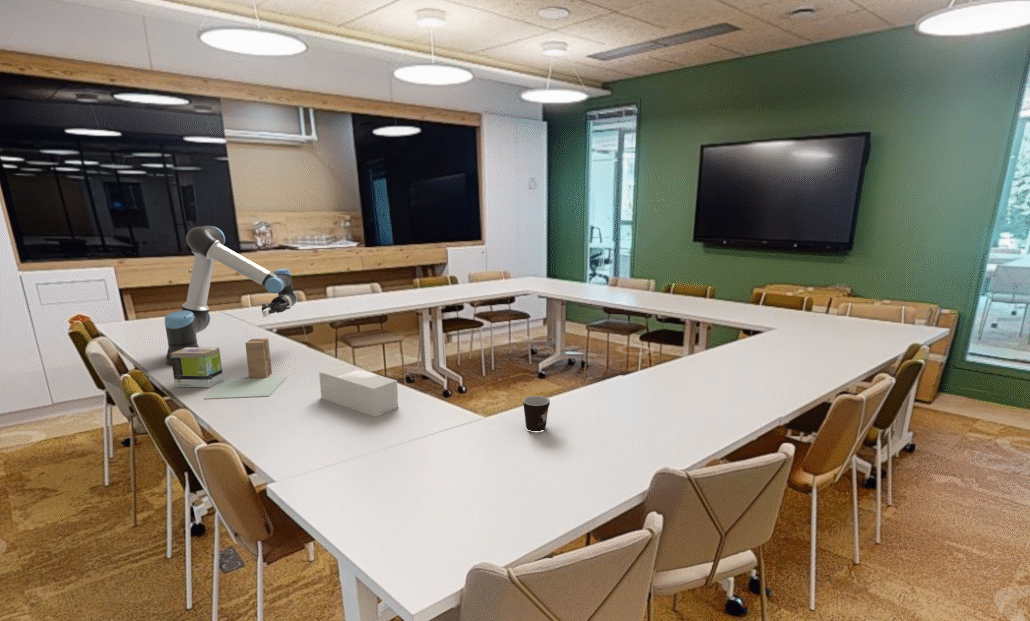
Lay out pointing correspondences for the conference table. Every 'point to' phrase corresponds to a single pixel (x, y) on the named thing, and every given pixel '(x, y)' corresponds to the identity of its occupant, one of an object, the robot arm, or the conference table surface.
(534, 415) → the coffee mug
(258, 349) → the walnut block
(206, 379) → the tea box
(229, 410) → the conference table surface
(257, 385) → the mat
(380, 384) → the stack of papers
